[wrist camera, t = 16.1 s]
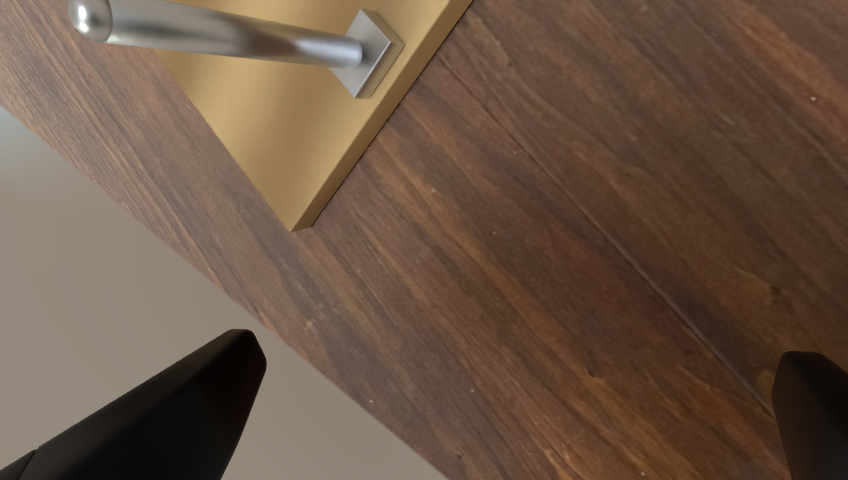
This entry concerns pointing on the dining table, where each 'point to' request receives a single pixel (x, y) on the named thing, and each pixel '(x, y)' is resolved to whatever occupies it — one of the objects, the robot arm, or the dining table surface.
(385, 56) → the metal joystick
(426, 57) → the board
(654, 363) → the dining table surface
